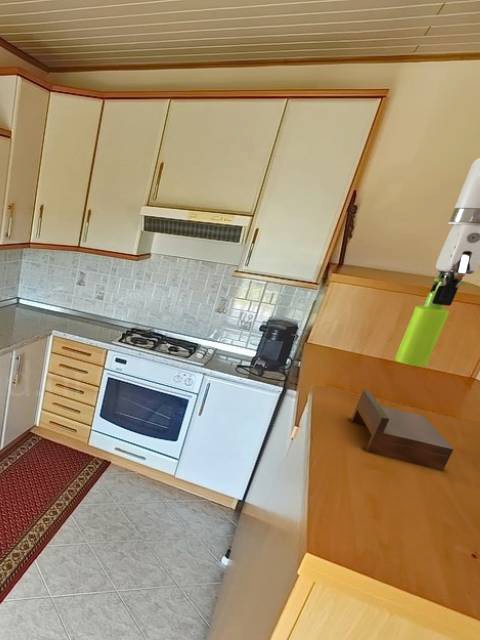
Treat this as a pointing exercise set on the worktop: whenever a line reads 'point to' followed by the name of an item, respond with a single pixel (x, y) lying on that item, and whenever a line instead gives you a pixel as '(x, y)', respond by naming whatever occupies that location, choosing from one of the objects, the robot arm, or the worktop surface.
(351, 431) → the worktop surface
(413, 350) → the soap dispenser
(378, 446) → the wooden toy bed
